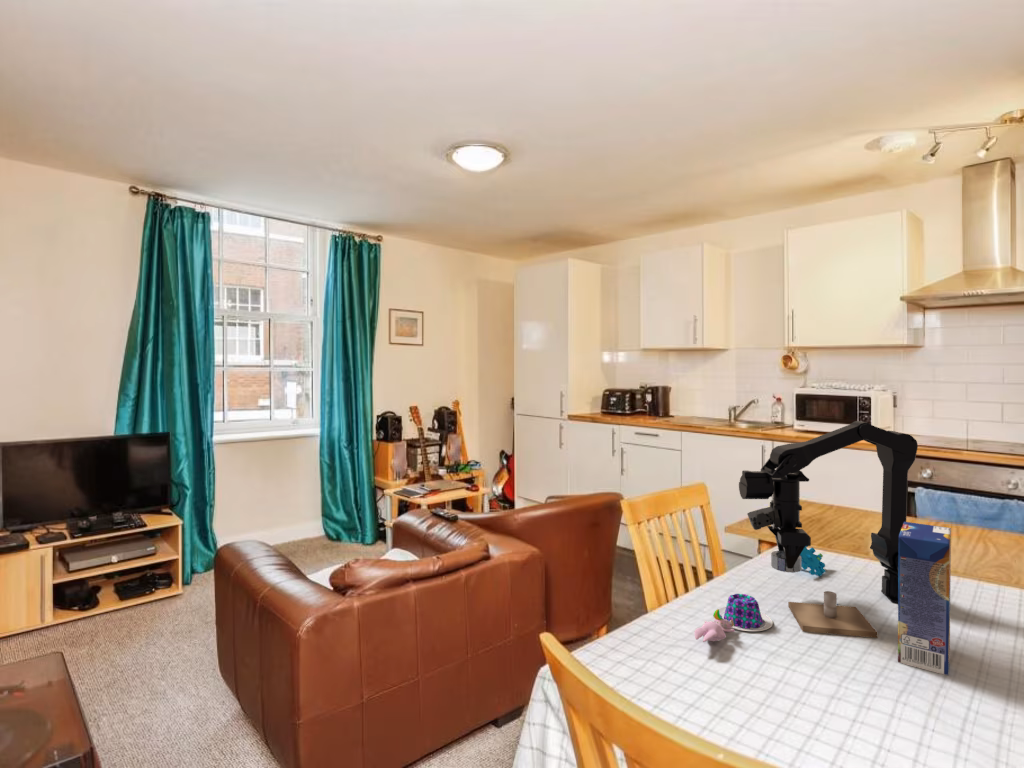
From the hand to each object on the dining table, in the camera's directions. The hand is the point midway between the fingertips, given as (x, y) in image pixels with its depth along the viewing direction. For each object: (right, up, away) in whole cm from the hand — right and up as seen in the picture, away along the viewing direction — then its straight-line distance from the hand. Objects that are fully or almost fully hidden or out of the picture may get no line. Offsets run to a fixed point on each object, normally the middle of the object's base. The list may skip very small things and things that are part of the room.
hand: (786, 563), depth 134 cm
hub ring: (0, -1, 0) cm, 1 cm away
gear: (+14, -8, +16) cm, 22 cm away
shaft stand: (+3, -9, -13) cm, 16 cm away
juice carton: (+13, -9, -27) cm, 32 cm away
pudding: (-15, -10, -11) cm, 21 cm away
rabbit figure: (-25, -10, -20) cm, 33 cm away
